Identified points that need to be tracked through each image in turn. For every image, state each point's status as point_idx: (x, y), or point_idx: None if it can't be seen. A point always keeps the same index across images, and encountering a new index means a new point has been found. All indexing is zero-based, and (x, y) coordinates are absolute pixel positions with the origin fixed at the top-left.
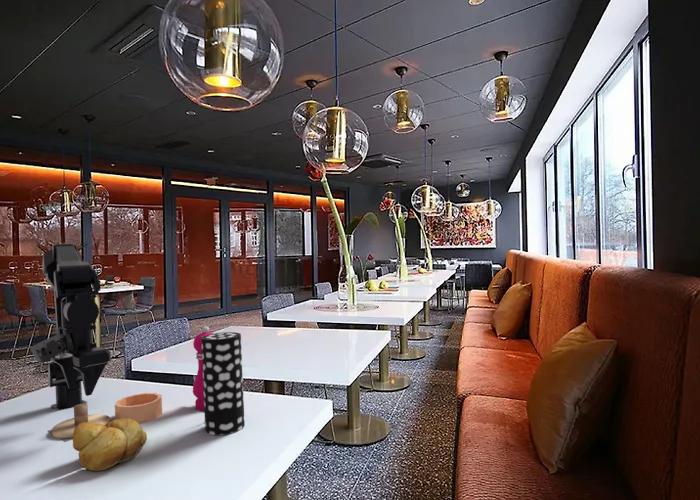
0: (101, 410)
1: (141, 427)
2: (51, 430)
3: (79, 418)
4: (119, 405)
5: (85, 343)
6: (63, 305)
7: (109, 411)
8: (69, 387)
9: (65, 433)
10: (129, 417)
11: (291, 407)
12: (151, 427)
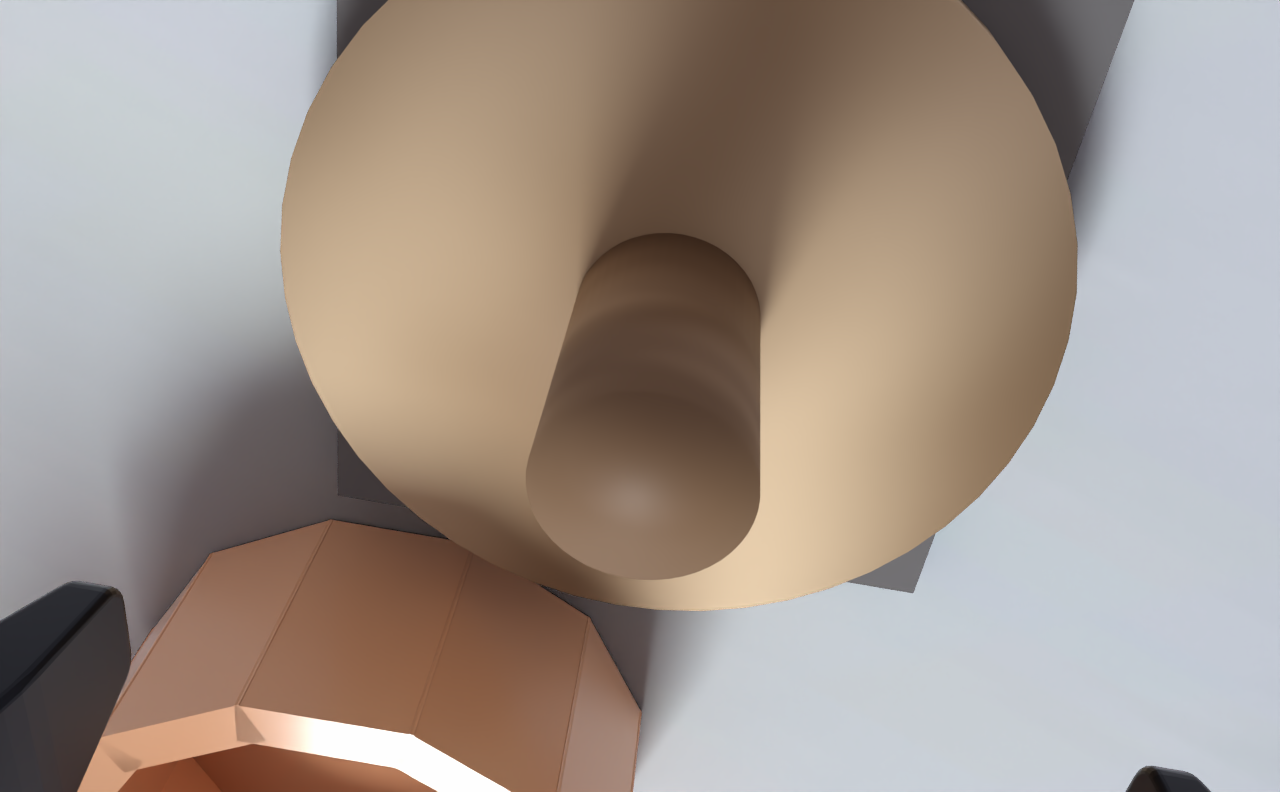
0: (1120, 741)
1: None
2: (1067, 36)
3: (581, 314)
4: (318, 738)
5: None
6: None
7: (975, 746)
8: (1148, 784)
9: None
10: (182, 626)
11: None
12: (12, 606)
